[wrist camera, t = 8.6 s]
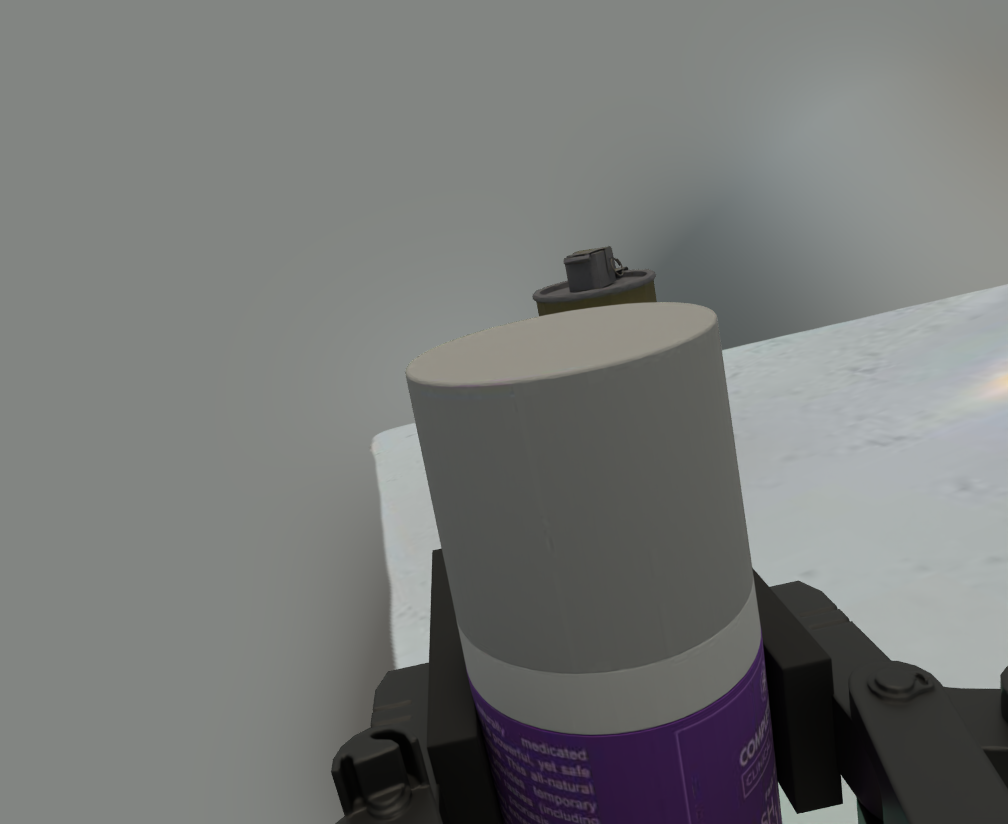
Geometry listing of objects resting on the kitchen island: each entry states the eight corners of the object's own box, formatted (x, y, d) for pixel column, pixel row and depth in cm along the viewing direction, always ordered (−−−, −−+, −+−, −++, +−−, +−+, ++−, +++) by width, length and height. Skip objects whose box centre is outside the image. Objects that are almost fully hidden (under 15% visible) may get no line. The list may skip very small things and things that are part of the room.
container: (860, 1207, 12) (785, 332, 8) (584, 1254, 12) (373, 412, 8) (758, 937, 17) (675, 287, 13) (556, 973, 17) (411, 340, 13)
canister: (659, 498, 59) (622, 251, 54) (547, 493, 65) (503, 269, 60) (698, 449, 68) (669, 232, 63) (596, 448, 74) (561, 249, 68)
